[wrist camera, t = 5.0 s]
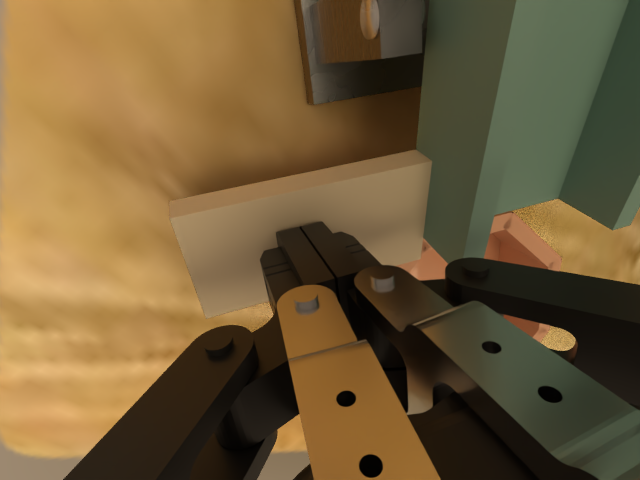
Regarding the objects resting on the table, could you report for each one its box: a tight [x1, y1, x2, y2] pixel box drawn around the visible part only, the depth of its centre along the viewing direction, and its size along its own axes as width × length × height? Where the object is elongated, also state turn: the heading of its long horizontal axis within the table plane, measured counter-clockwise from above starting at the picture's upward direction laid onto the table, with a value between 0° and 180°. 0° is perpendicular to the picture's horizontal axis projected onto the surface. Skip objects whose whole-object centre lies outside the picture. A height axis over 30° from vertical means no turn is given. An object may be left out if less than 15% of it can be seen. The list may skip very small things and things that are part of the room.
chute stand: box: [294, 0, 429, 105], centre depth 14 cm, size 11×5×7 cm, turn 98°
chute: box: [169, 0, 640, 319], centre depth 10 cm, size 15×15×6 cm
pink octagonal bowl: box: [397, 211, 562, 342], centre depth 21 cm, size 12×12×4 cm
